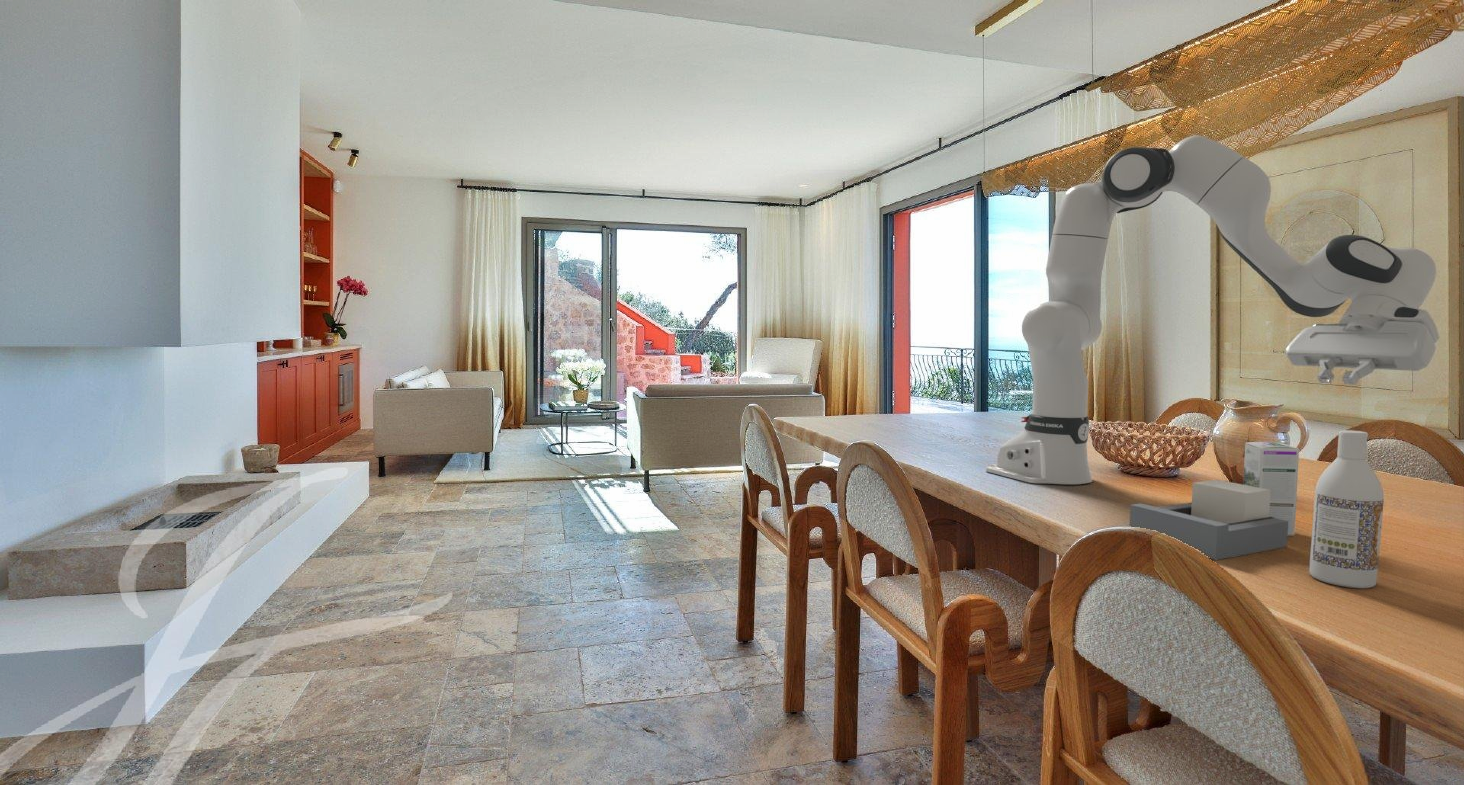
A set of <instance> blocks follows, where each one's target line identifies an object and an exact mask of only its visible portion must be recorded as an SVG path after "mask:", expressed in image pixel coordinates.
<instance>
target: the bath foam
mask: <svg viewBox="0 0 1464 785" xmlns="http://www.w3.org/2000/svg"><path fill="white" fill-rule="evenodd" d="M1368 437H1369V433H1368V432H1367V431H1362V430H1350V429H1349V430H1348V429H1347V430H1346V429H1345V430H1344V429H1341V430H1339V432H1338V439H1337V440H1338V441H1337V452H1336V454H1337V456H1336V458H1335V459H1334V460H1333V461H1332V462H1331V463H1330V464H1329V465H1328V466H1327V467H1326V469H1325V470H1324V471H1323V472H1322V473H1321V474H1320V476H1319V477H1318V481H1317V483H1316V485H1315V491H1314V502H1313V515H1312V516H1313V518H1312V529H1311V544H1310V556H1309V571H1308V572H1309V575H1310V576H1312V577H1313V578H1314V579H1316V580H1318V581H1320V582H1323V583H1325V584H1330V585H1333V586H1337V587H1344V588H1351V589H1369V588H1373V587H1375V586H1376V584H1377V582H1378V571H1379V561H1380V549H1381V548H1380V547H1381V540H1382V539H1381V536H1382V524H1383V513H1384V512H1383V511H1384V489H1383V485H1382V483H1381V481H1380V478H1379V476H1378V475H1377V474H1376V473H1375V471H1374V469H1373V468H1372V467H1371V465H1370V464H1369V462H1368V461H1367V452H1368Z"/></svg>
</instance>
